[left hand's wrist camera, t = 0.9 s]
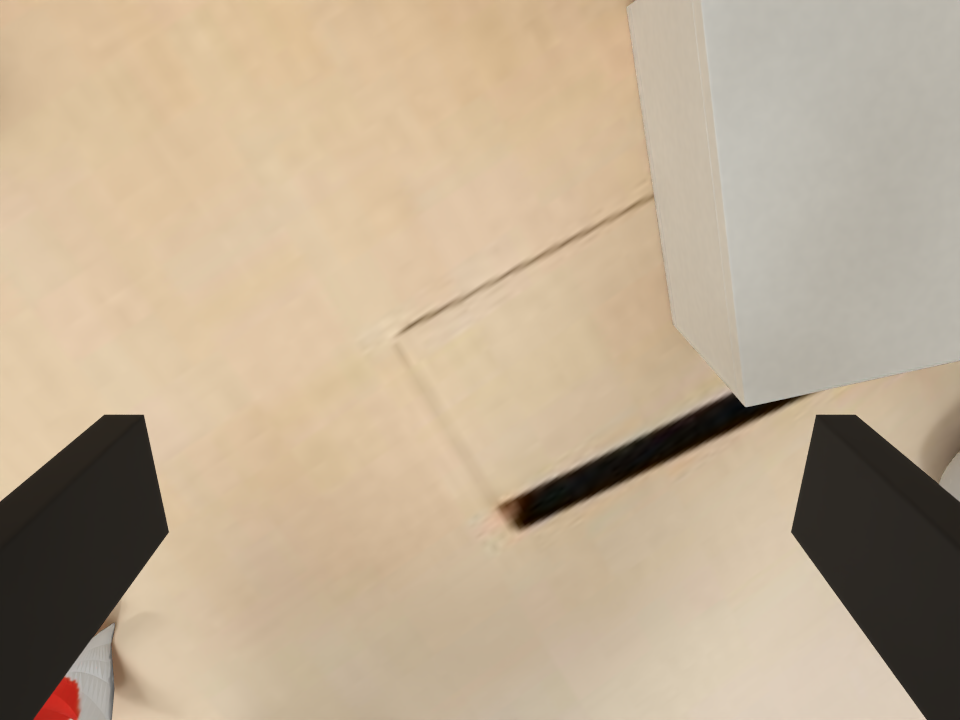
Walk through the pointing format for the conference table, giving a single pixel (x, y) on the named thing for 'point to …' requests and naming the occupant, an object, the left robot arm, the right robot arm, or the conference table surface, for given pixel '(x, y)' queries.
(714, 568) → the conference table surface
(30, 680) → the left robot arm
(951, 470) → the projector
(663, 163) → the cabinet
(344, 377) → the conference table surface
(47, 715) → the fish
